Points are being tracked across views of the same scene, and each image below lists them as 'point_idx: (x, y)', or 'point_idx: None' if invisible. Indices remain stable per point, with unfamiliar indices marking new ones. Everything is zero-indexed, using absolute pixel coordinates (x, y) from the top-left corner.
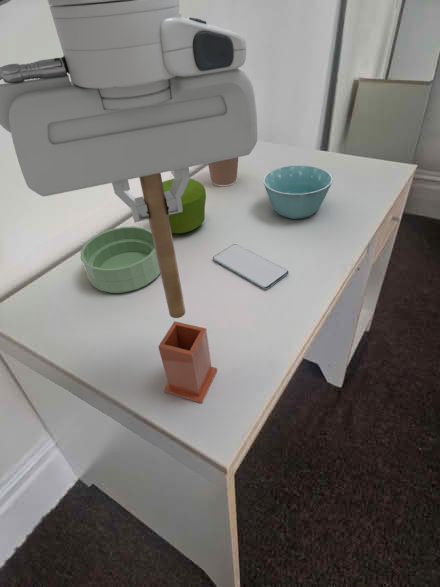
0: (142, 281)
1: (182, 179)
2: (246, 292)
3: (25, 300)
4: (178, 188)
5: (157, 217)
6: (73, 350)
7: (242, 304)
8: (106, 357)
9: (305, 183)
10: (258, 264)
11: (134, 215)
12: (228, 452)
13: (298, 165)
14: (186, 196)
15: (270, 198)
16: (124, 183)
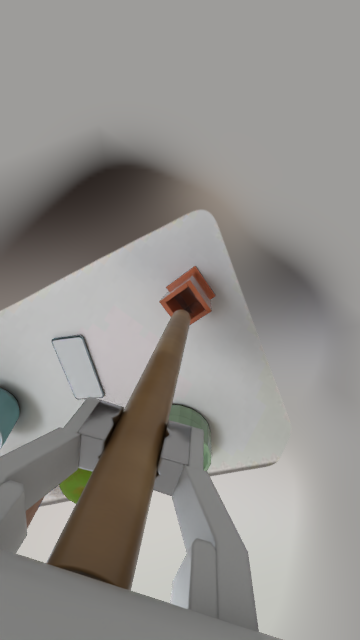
0: (172, 408)
1: (4, 476)
2: (98, 344)
3: (264, 451)
4: (46, 452)
5: (151, 411)
6: (256, 379)
7: (109, 334)
8: (237, 356)
9: None
10: (71, 364)
11: (200, 444)
12: (202, 211)
13: None
14: (81, 474)
15: (10, 425)
16: (206, 587)
